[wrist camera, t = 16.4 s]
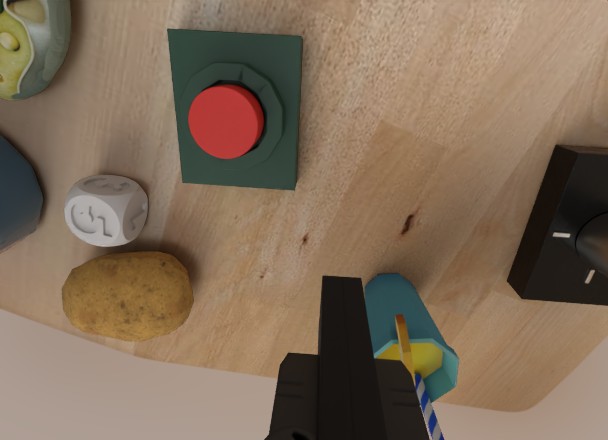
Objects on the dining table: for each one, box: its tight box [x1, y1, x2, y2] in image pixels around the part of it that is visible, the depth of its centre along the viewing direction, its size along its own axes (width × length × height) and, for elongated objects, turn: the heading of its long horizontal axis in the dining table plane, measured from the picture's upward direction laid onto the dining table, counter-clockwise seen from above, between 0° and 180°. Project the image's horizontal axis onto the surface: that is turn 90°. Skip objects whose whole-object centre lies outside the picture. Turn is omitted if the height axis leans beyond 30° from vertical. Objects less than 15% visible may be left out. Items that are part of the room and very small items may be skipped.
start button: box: [188, 84, 264, 159], centre depth 25 cm, size 5×5×3 cm
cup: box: [365, 273, 459, 440], centre depth 30 cm, size 14×8×15 cm, turn 28°
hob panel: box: [507, 145, 608, 306], centre depth 31 cm, size 14×10×3 cm
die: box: [64, 175, 148, 247], centre depth 32 cm, size 5×5×5 cm
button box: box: [167, 29, 303, 190], centre depth 28 cm, size 12×10×4 cm
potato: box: [62, 251, 194, 341], centre depth 34 cm, size 9×13×7 cm
